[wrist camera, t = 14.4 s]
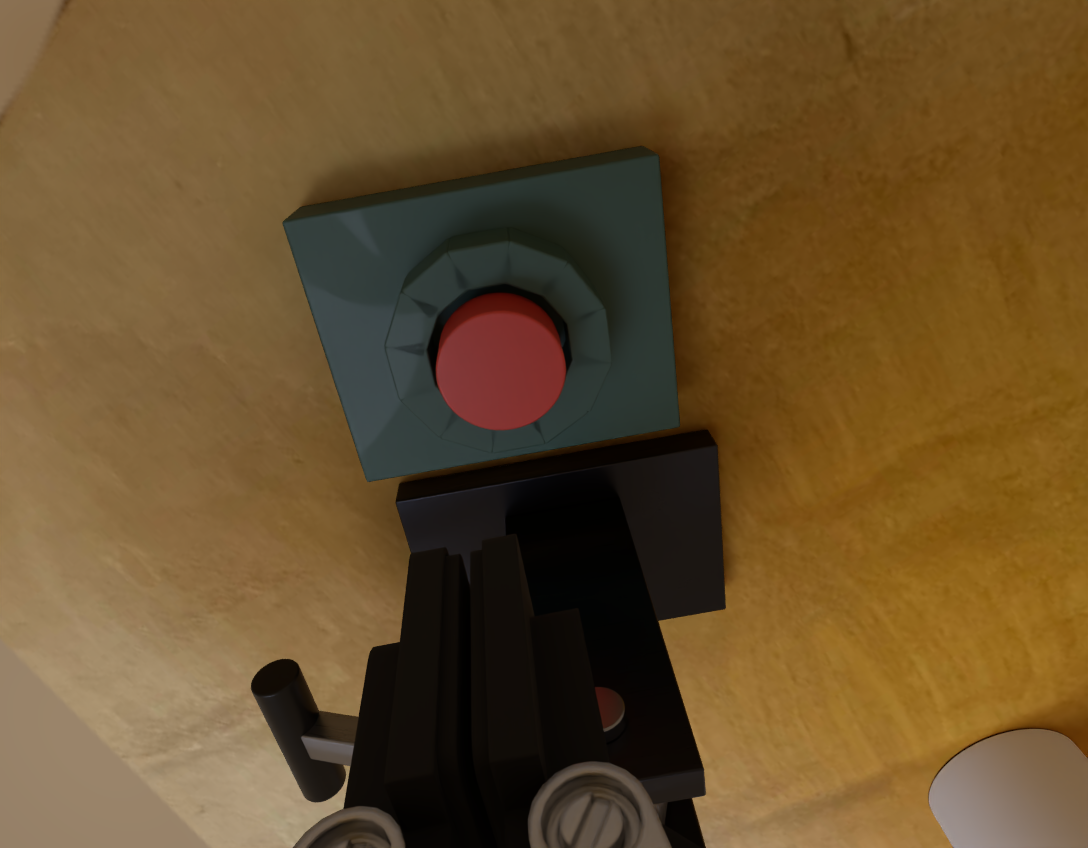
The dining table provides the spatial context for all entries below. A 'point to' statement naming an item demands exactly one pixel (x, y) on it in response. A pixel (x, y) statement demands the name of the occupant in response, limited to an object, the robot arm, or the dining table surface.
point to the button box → (488, 267)
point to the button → (500, 362)
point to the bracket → (606, 577)
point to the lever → (312, 731)
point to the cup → (1014, 793)
